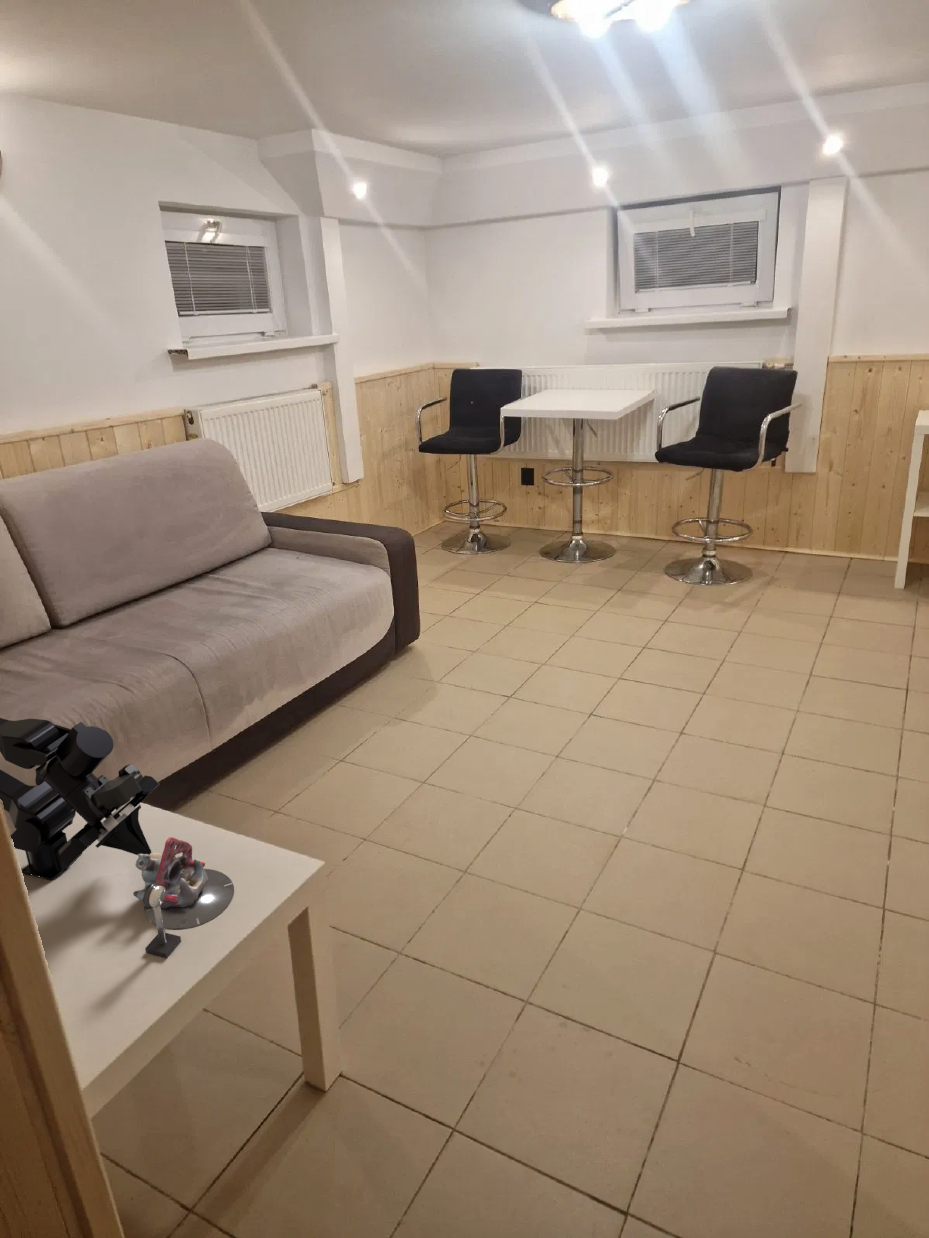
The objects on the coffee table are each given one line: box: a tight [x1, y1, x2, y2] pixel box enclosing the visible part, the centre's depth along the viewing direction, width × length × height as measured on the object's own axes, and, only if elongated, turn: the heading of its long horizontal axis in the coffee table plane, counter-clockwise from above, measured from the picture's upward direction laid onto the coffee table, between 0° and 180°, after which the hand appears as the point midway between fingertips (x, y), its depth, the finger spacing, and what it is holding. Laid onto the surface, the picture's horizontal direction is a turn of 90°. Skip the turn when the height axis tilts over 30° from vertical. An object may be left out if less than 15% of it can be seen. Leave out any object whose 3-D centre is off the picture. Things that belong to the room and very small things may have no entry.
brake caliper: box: [132, 836, 208, 909], centre depth 133 cm, size 11×11×12 cm
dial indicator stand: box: [142, 883, 182, 960], centre depth 122 cm, size 4×4×12 cm
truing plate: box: [143, 868, 235, 930], centre depth 134 cm, size 14×14×1 cm
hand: (148, 855), depth 133 cm, fingers closed
